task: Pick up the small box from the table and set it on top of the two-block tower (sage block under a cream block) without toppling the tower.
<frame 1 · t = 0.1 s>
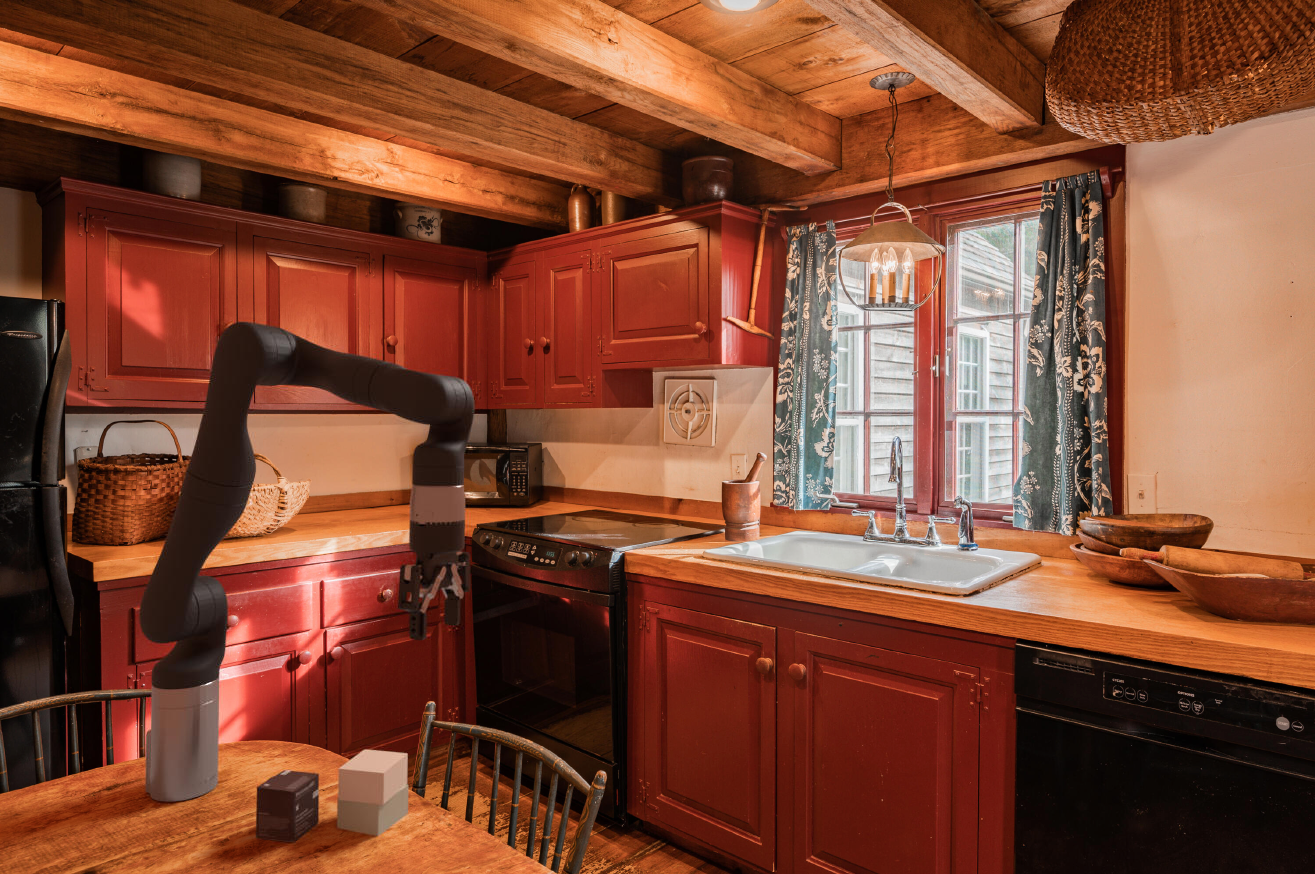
hand: (435, 631, 112), 29 cm above the table, tool pointing down, fingers open, 8 cm apart
box: (287, 832, 114), on the table
tower top: (373, 791, 117), point 4 cm above the table, touching tower base
tower base: (373, 821, 117), on the table, touching tower top
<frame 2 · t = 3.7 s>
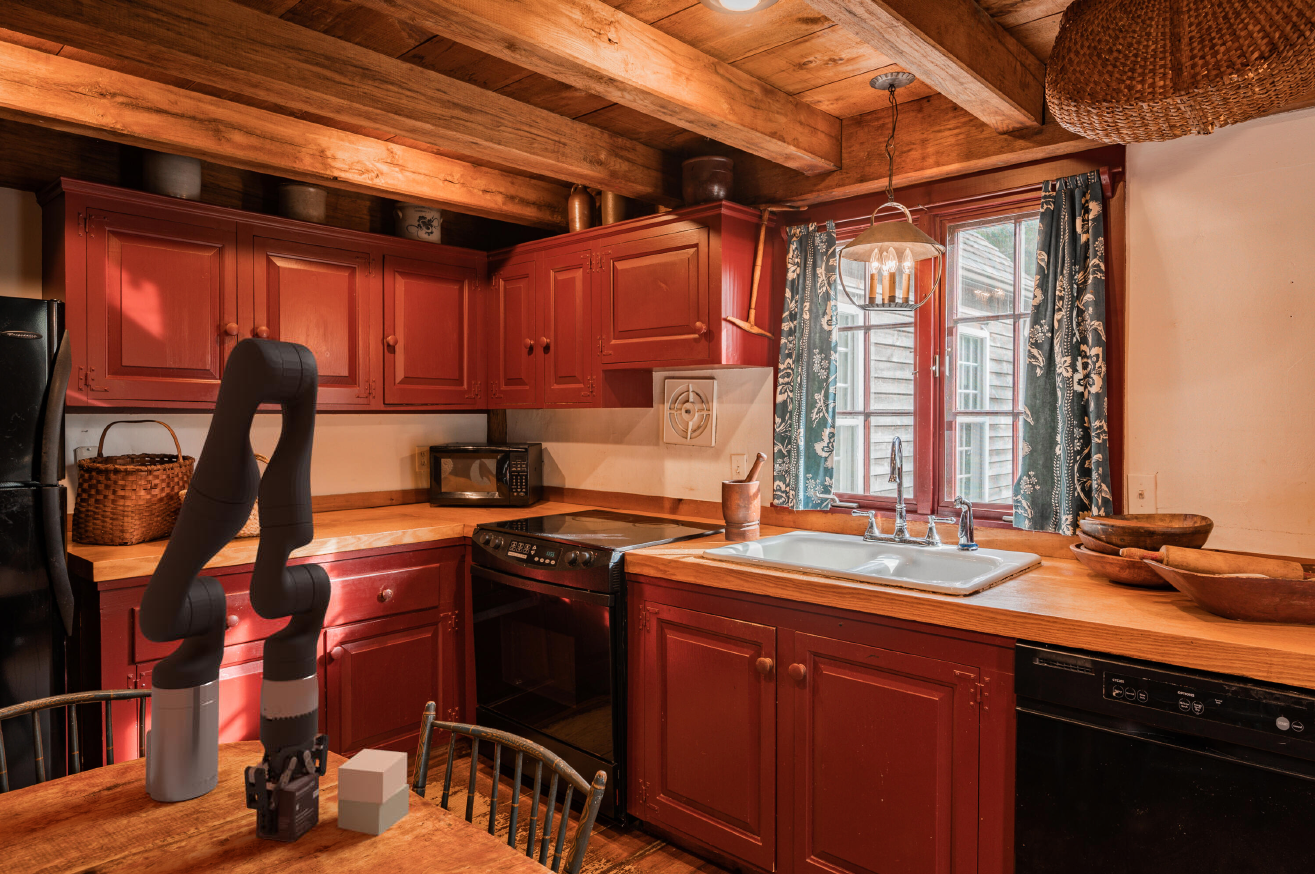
hand: (287, 821, 114), 1 cm above the table, tool pointing down, fingers closed on box, 6 cm apart
box: (287, 831, 114), on the table, touching gripper
everything else where it was.
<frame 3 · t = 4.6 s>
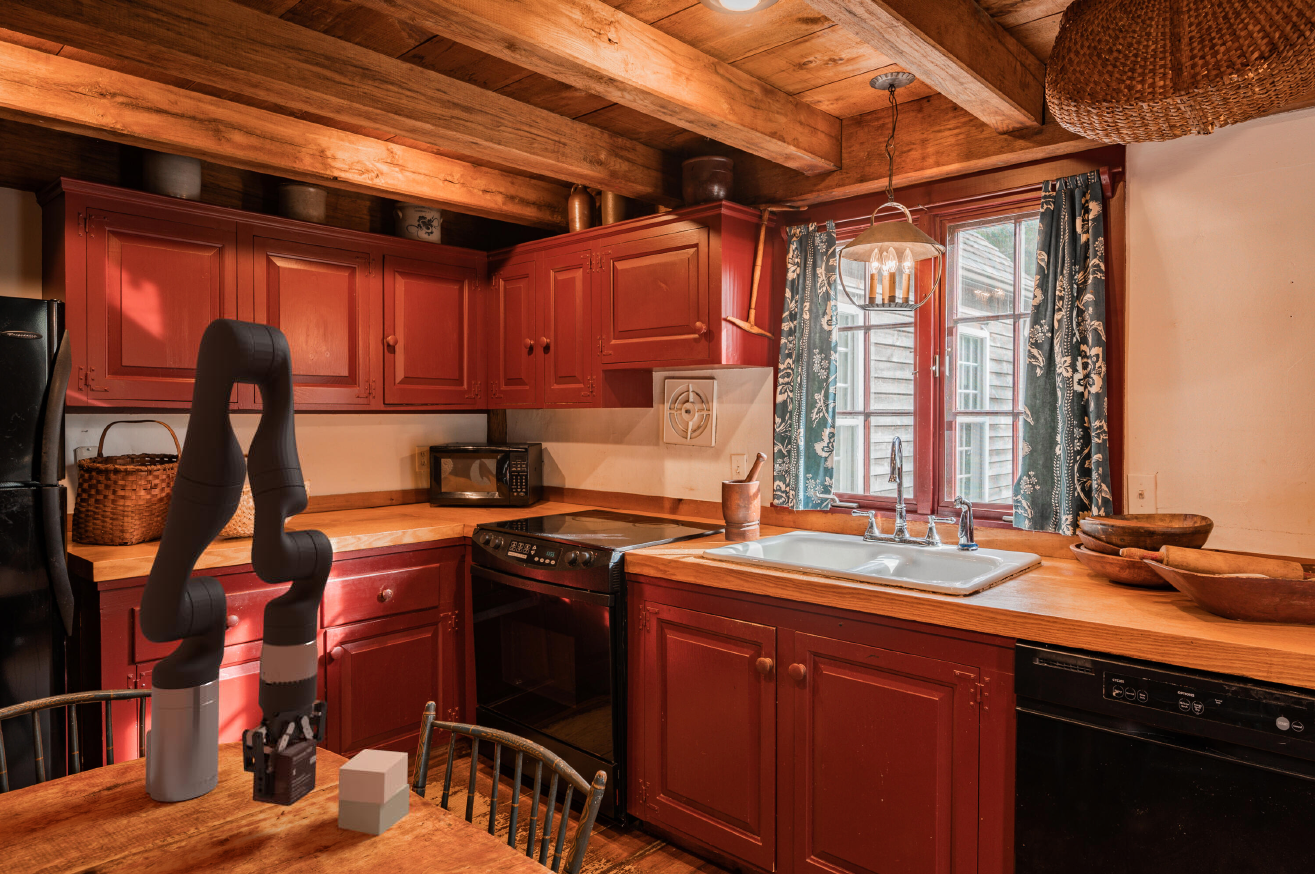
hand: (284, 786, 114), 6 cm above the table, tool pointing down, fingers closed on box, 6 cm apart
box: (284, 796, 114), point 5 cm above the table, touching gripper
everything else where it was.
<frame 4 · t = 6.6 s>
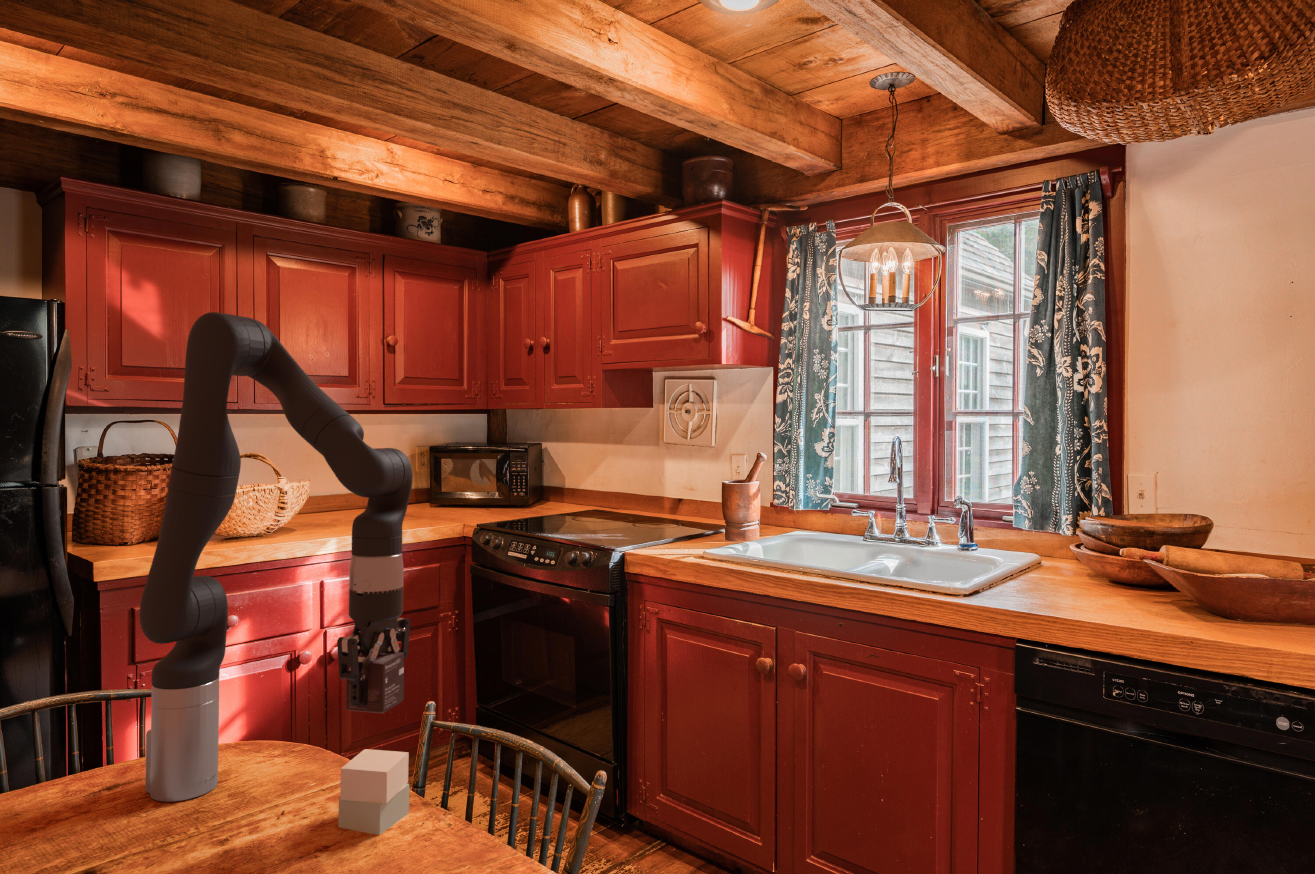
hand: (374, 697, 117), 18 cm above the table, tool pointing down, fingers closed on box, 6 cm apart
box: (375, 707, 117), point 17 cm above the table, touching gripper
everything else where it was.
when the fingers open (11 cm above the table, at t = 8.7 s): box drops 1 cm, resting on tower top.
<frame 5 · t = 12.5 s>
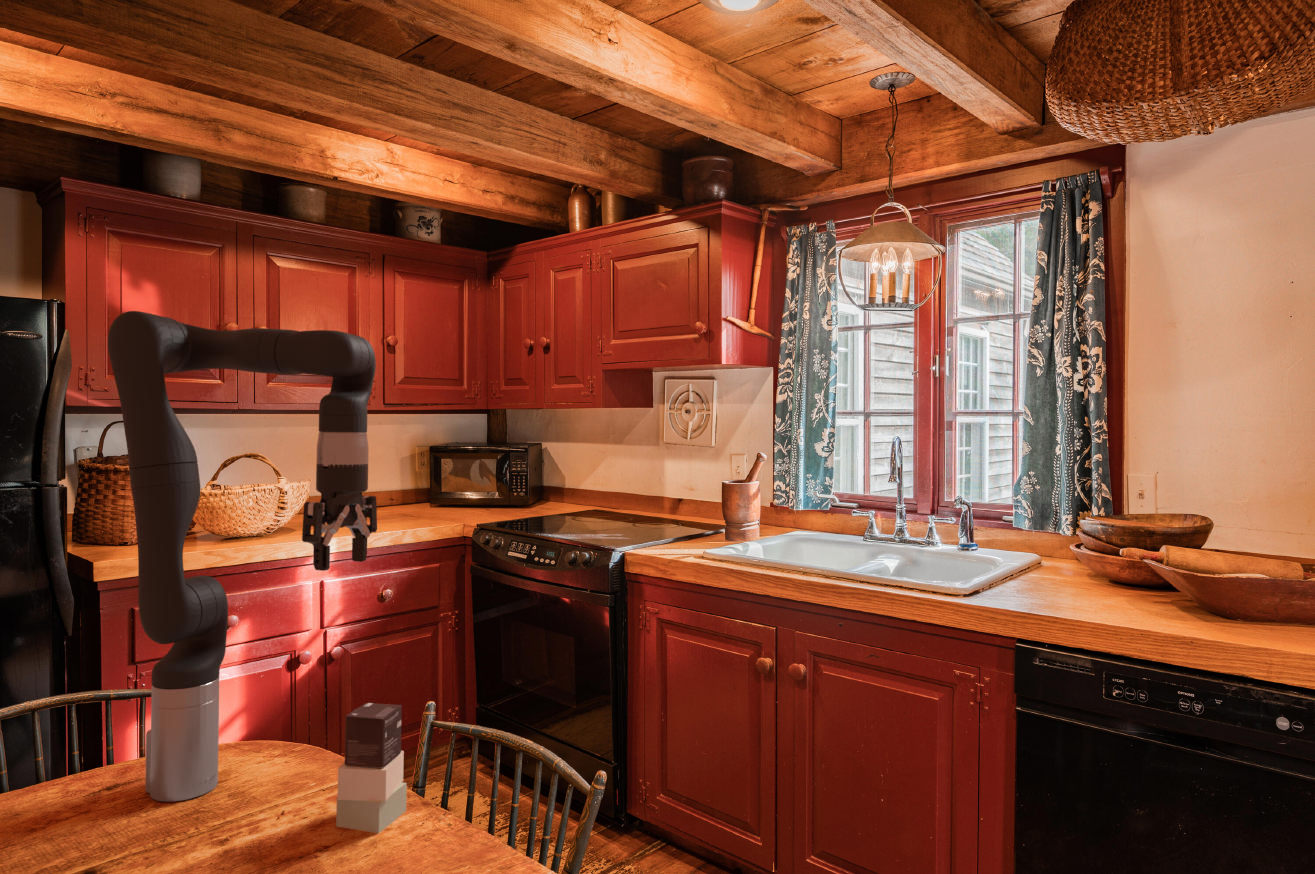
hand: (341, 565, 124), 36 cm above the table, tool pointing down, fingers open, 8 cm apart
box: (373, 760, 118), point 8 cm above the table, touching tower top
tower top: (371, 789, 118), point 4 cm above the table, touching box, tower base
everything else where it was.
at the end: box 0.2 cm off-centre on the tower top, point 4.3 cm above the tower top's base; tower top tilted 0°; tower base moved 0.8 cm from its start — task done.
